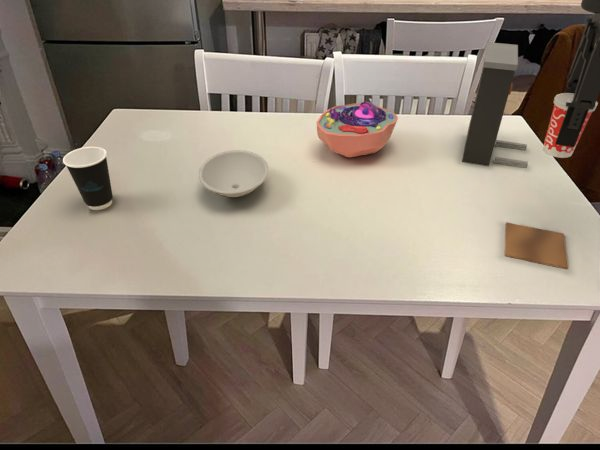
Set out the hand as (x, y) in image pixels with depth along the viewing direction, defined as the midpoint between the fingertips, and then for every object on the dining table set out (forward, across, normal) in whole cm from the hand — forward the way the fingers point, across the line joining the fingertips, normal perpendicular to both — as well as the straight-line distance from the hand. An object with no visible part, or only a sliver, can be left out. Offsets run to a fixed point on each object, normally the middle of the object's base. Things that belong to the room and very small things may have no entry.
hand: (563, 135), depth 76 cm
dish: (+19, +8, -58) cm, 62 cm away
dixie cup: (+19, +22, -82) cm, 87 cm away
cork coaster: (+19, +6, +1) cm, 20 cm away
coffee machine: (+19, -28, -8) cm, 35 cm away
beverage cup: (+3, 0, 0) cm, 3 cm away
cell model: (+19, -18, -39) cm, 47 cm away
